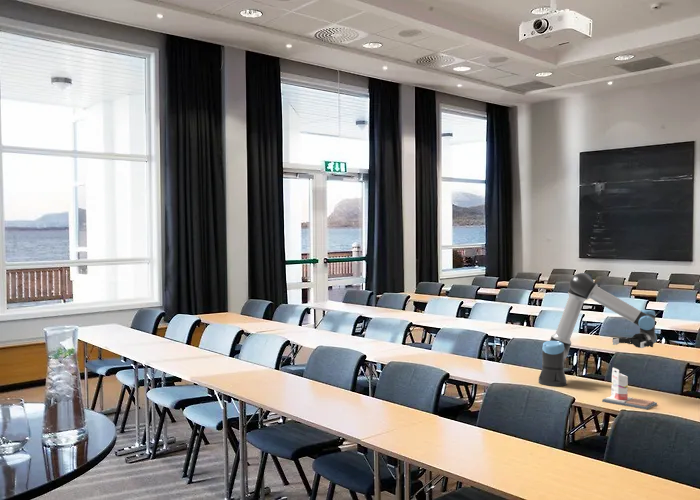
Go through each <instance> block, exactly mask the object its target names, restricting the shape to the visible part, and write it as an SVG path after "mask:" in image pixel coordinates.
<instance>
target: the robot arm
mask: <svg viewBox="0 0 700 500" xmlns="http://www.w3.org/2000/svg"><path fill="white" fill-rule="evenodd" d="M567 293H568V299H567V301H566V304H565V307H564V310H563V312H562V315H561V318H560V320H559V322H558V325H557V328H556V331H555V333H554V334H553V335H551V337H550V339H549V340H547V341H544V342H543V343H542V347H541V349H542V354H541V357H542V359H541V360H542V363H541V365H542V366H541V367H542V368H541V371H540V375H539V376H538V383H539V384H541V385H543V386H544V385H545V386H549V387H565V386H567V383H568V381H567V377H566V374H565V369H564V367H565V360H566V359H567V357H568V356H569V354H570V352H569V351H570V348H571V346H572V341H571V337H572V334H573V332H574V330H575V327H576V324H577V321H578V318H579V316H580V314H581V311H582V307H583V305H584V303H585V301H587V300H589V299H590V300H593V301H595V302H597V304H600V305H601V306H604V308H606V309H608V310H610V311H612V312H614V313H615V314H617V315H619V316H620V317H622V318H624V319H625V320H628V321H629V322H631V323H633V324H635V325H636V326H638V327H639V333H635V334H633V336H632V337H627V336H624V337H612V345H614V346H615V345H616V346H617V345H618V344H628V345H633V346H634V347H636V348H639V349H644V348H646V347H647V348H648V347H650V348H654V344H655V343H657V340H658V336H657V334H656V311H655V310H650V309H641V310H640V309H638V308H636V307H634V306H633V305H631V304H630V303H627V302H625V301H624V300H622V299H620V298H619V297H617V296H616V295H613V294H612V293H610V292H608V291H606V290H604V289H602V288H601V287H599V286H598V284H597V283H596V282H595V281H594V279H593V278H592V276H591V275H589V274H588V273H584V272H580V273H576V274H574V275H572V277H571V278H570V279H569V288H568V290H567Z"/></svg>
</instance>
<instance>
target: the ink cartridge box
mask: <svg viewBox="0 0 700 500" xmlns="http://www.w3.org/2000/svg"><path fill="white" fill-rule="evenodd" d="M628 385H629V377H628V376H627V375H625V374H623V373H620V369H618V368H616V367H612V371H611V387H610V388H611V389H610V390H611V392H610V393H611V394H610V396H612V397H614V398H616V399H618V400H627V397H628V394H629V393H628V391H629V389H628Z"/></svg>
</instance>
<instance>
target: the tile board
mask: <svg viewBox="0 0 700 500" xmlns="http://www.w3.org/2000/svg"><path fill="white" fill-rule="evenodd" d="M601 401H602V403H609V404H613V405H619V406H623V407H624V406H625V407H631V408H636V409H643V410H648V409H650V408H653V407H655V406H656V405H658V402H656V401H652V400H648V399H642V398H636V397H635V398H634V397H629V396H627V400H618V399H616V398H614V397H612V396H611V395H610V396H607V397H605V398H603V399H602V400H601Z"/></svg>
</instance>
